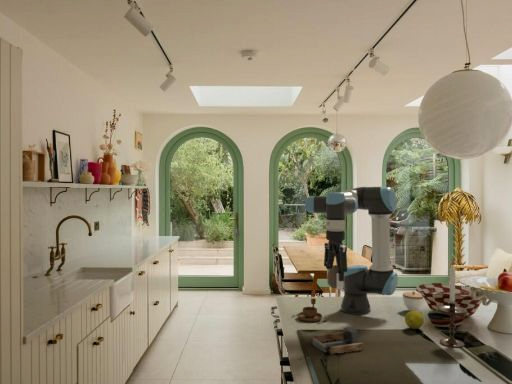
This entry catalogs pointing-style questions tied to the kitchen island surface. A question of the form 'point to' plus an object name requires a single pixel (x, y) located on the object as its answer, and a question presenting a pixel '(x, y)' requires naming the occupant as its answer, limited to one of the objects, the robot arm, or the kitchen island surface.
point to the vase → (332, 277)
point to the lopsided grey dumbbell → (348, 338)
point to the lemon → (414, 319)
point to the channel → (342, 347)
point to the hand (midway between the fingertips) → (335, 286)
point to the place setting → (310, 313)
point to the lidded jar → (413, 300)
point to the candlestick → (452, 313)
